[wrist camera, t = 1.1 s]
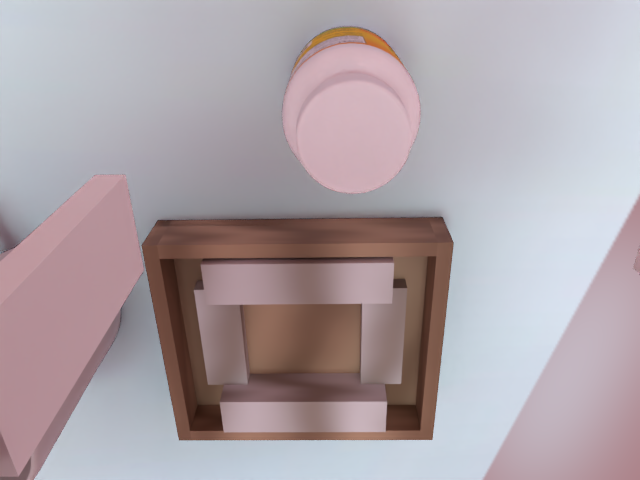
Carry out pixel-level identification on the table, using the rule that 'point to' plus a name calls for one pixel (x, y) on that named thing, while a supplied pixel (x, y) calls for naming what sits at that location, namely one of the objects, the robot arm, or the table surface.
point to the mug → (66, 402)
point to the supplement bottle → (350, 110)
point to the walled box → (301, 325)
